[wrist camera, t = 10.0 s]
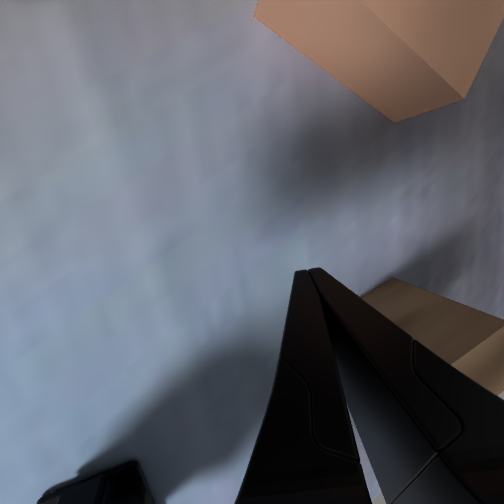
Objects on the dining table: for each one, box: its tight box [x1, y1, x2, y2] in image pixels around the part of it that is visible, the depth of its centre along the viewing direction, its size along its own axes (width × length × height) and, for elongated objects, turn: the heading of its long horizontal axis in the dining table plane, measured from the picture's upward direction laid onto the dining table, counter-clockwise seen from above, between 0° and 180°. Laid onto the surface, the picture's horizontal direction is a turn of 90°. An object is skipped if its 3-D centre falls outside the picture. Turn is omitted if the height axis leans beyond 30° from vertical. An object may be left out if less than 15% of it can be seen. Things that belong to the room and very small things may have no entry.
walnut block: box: [361, 278, 504, 396], centre depth 18 cm, size 5×5×8 cm
